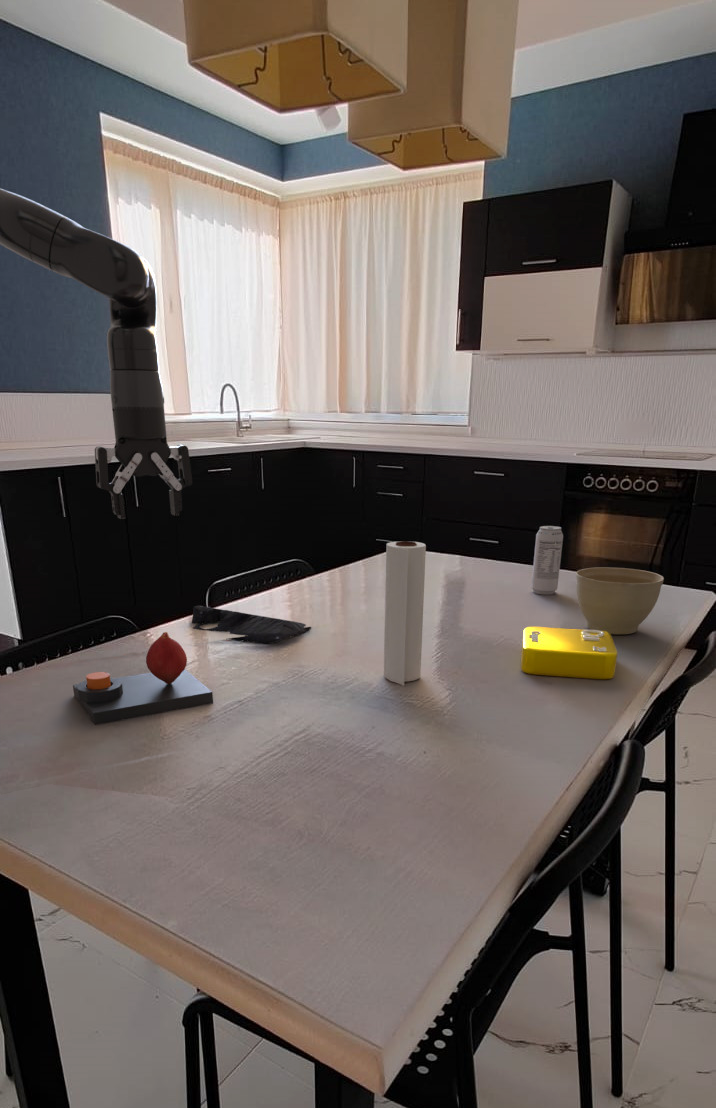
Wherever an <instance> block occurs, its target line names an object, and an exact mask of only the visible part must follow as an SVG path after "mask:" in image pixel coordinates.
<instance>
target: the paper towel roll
mask: <svg viewBox="0 0 716 1108" xmlns="http://www.w3.org/2000/svg"><path fill="white" fill-rule="evenodd" d="M385 547H386V552H385V588H384V589H385V593H384V635H383V637H384V638H383V639H384V641H383V642H384V643H383V647H384V648H383V677H384V678H385V679H386V680H388V681H390V682H392V683H396V684H399V685H402V686H403V687H405V682H406V683H407V682H413V681H416V680H419V678H420V677H421V672H422V671H421V670H422V650H423V649H422V647H423V626H424V625H423V624H424V623H423V622H424V599H425V575H426V554H427V553H426V552H427V551H426V550H427V545H426V543H424V542H419V541H410V540H409V541H408V540H407V541H406V540H404V541H403V540H402V541H401V540H400V541H391V542H387V543H386V546H385Z"/></svg>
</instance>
